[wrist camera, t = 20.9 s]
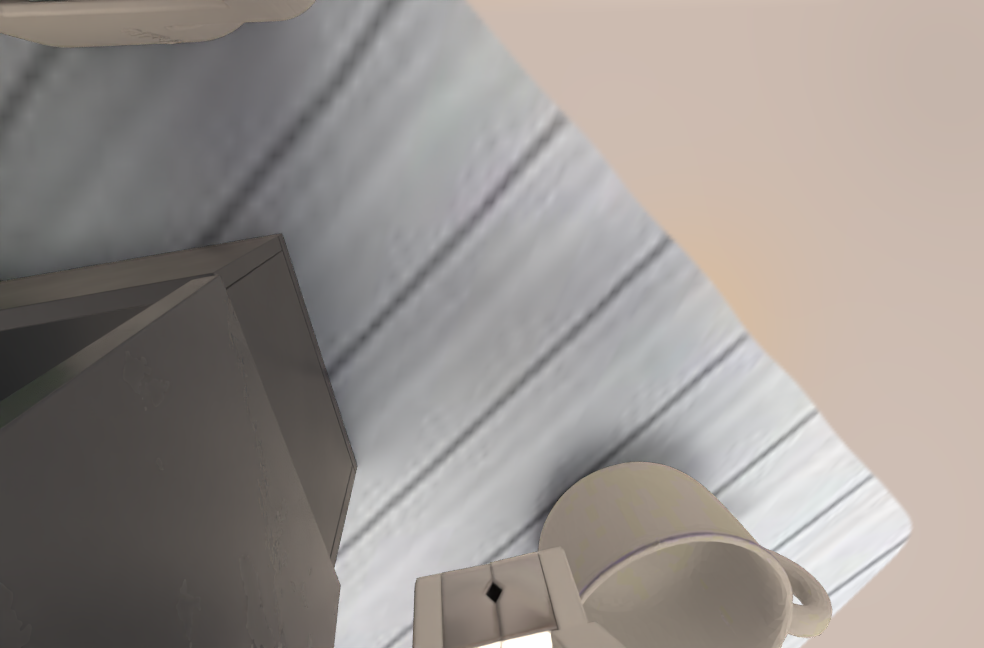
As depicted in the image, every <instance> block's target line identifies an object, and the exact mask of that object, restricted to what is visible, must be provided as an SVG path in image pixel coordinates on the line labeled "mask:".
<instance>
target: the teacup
mask: <svg viewBox="0 0 984 648" xmlns="http://www.w3.org/2000/svg"><path fill="white" fill-rule="evenodd" d="M560 546H561V547H562V548H563V550H564V552H565V555H566V558H567V560H568V563H569V566H570V569H571V572H572V575H573V578H574V581H575V584H576V587H577V590H578V593H579V596H580V599H581V602H582V605H583V608H584V611H585V614H586V617H587V620H588V622H594V621H597V622H598V623H599V624H600V625H601V626H602V627H604V628H605V629H606V630H607V631H608V632H609V633H611V634H612V635H613V636H614V637H615V638H616V639H617V640H619V641H620V642H621V643H622V644H623V645H624V646H625V647H627V648H781V646H782V643H783V641H784V640H785V638H786V636H787V634H790V635H793V636H797V637H805V638H811V637H816V636H819V635H821V633H822V632H823V631H824V630H825V629H826V628H827V627H828V624H829V622H830V620H831V615H832V606H831V602H830V599H829V597H828V595H827V593H826V591H825V590H824V588H823V587H822V586H821V584H820V583H819V582H818V581H817V580H816V579H815V578H814V577H813V576H812V575H811V574H810V573H809V572H807V571H806V570H805V569H804V568H802V567H801V566H799V565H798V564H796V563H795V562H793V561H791V560H790V559H788V558H786V557H784V556H782V555H780V554H778V553H776V552H774V551H771V550H768V549H766V548H764V547H762V546H761V545H759V544H758V543H757V541H756V540H755V539H754V538H753V537H752V536H751V535H750V534H749V532H748V531H747V530H746V529H745V528H744V527H743V526H742V525H741V524H740V522H739V521H738V520H737V519H736V518H735V517H734V516H733V515H732V514H731V513H730V511H729V510H728V509H727V508H726V507H725V506H724V505H723V504H722V503H721V502H720V501H719V500H718V499H717V498H716V497H715V496H714V495H713V494H712V493H711V492H709V491H708V490H707V489H706V488H705V487H704V486H703V485H701V484H700V483H699V482H697V481H696V480H695V479H693V478H692V477H690V476H689V475H687V474H685V473H683V472H681V471H679V470H677V469H675V468H672V467H669V466H666V465H663V464H657V463H651V462H627V463H620V464H616V465H612V466H608V467H606V468H603V469H600V470H598V471H595V472H593V473H591V474H589V475H588V476H586V477H584V478H583V479H581V480H579V481H578V482H577V483H576V484H574V485H573V486H572V487H570V488H569V489H568V490H567V491H566V492H565V493H564V494H563V495H562V496H561V498H560V499H559V500H558V501H557V503H556V504H555V505H554V507H553V508H552V510H551V511H550V513H549V515H548V517H547V519H546V521H545V523H544V526H543V529H542V532H541V536H540V540H539V548H538V551H542V550H547V549H551V548H556V547H560ZM793 595H795V596H796V597H797V598H798V599H799V600H800V601H801V603H802V604H803V605H798V604H794V603H792V601H793Z"/></svg>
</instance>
